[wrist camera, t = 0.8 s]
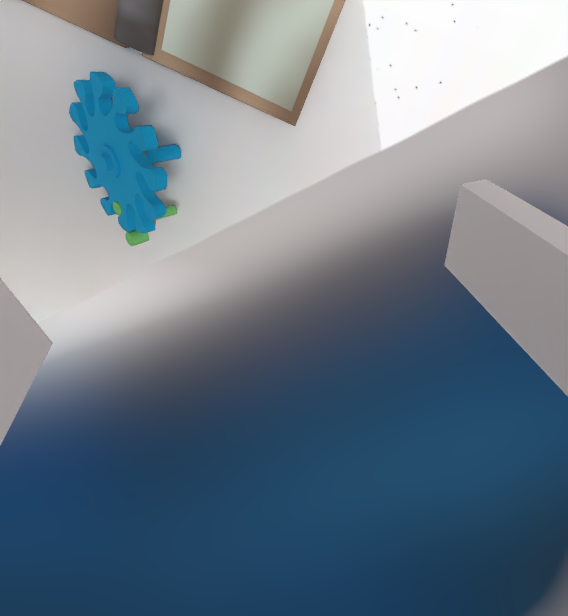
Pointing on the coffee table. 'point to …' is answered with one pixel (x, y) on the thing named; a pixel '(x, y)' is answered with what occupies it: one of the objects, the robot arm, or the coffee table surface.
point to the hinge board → (220, 42)
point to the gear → (121, 155)
